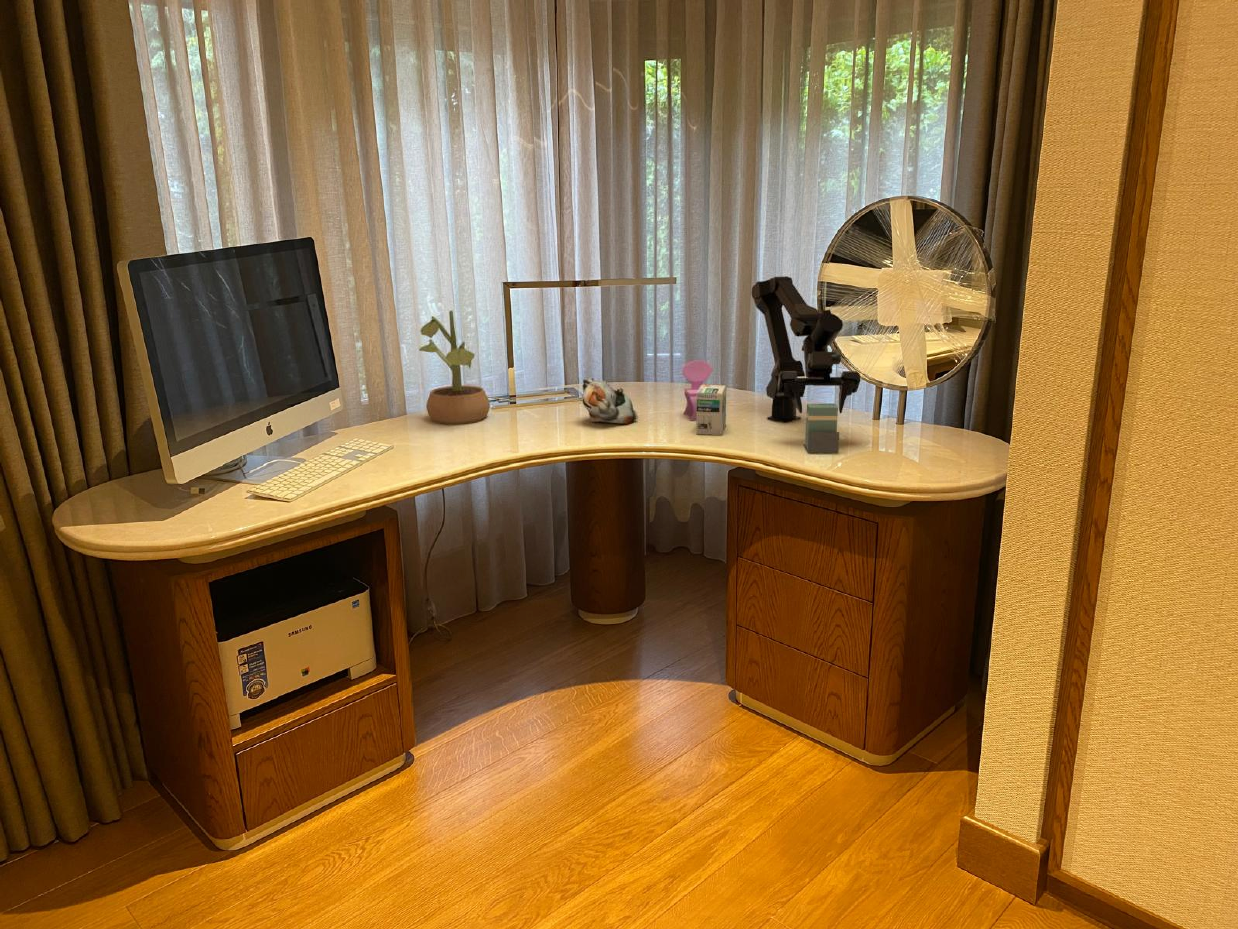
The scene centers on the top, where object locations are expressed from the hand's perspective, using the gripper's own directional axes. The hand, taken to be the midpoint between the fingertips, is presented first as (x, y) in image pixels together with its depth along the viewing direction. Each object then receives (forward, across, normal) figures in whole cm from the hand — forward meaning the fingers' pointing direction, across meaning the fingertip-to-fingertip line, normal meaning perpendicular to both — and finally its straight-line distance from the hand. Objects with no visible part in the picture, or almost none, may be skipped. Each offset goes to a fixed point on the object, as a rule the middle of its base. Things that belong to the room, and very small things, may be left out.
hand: (821, 412), depth 215 cm
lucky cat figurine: (-12, -51, +25) cm, 58 cm away
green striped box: (+6, 0, +5) cm, 8 cm away
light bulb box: (-6, -25, +18) cm, 31 cm away
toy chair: (-16, -28, +28) cm, 43 cm away
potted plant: (-12, -93, +26) cm, 97 cm away
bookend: (+7, 0, +6) cm, 9 cm away
